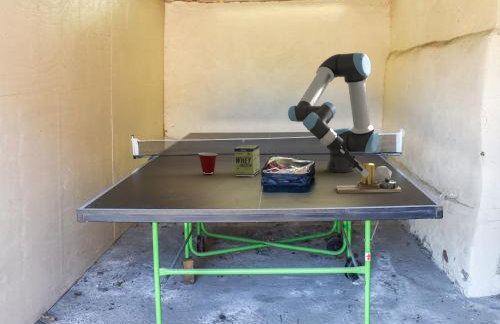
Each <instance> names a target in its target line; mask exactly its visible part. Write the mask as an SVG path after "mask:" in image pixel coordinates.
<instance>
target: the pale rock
mask: <svg viewBox="0 0 500 324" xmlns="http://www.w3.org/2000/svg"><path fill="white" fill-rule="evenodd" d="M392 175H393V172H392V170H391V169H389V168H388V167H387V166H385V165H380V166H376V167H375V181H377V182H378V181H379V180H380V181H381V180H385V178H390V179H391V177H392Z"/></svg>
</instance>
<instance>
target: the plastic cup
mask: <svg viewBox="0 0 500 324" xmlns="http://www.w3.org/2000/svg"><path fill="white" fill-rule="evenodd" d="M197 155H198V156H199V160H200V161H199V162H200V167H201V172H202V173H203V172H205V173H211V172H214V173H215V167H216V160H217V156H218V155H219V154H218V153H216V152H198V153H197Z"/></svg>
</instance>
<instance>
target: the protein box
mask: <svg viewBox="0 0 500 324" xmlns="http://www.w3.org/2000/svg"><path fill="white" fill-rule="evenodd" d="M233 150H234V152H233V153H234V155H233V156H234V176H235V175H255V174H256V173H257V172H259V171H260V172H261V169H260V168H261V166H260V162H261V161H260V145H259V144H240V145H239V146H236V147H235V148H234V149H233ZM260 172H259V173H260Z"/></svg>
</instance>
